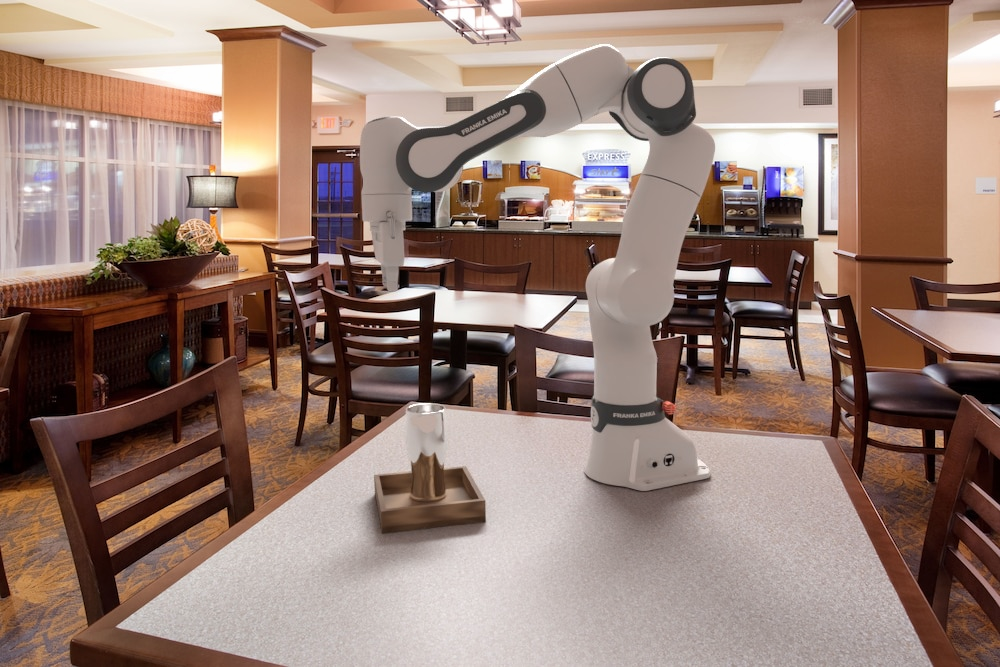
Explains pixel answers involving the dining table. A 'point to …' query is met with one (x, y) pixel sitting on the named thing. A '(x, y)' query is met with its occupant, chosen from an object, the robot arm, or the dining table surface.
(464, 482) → the walnut tray
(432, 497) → the beer glass
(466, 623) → the dining table surface
